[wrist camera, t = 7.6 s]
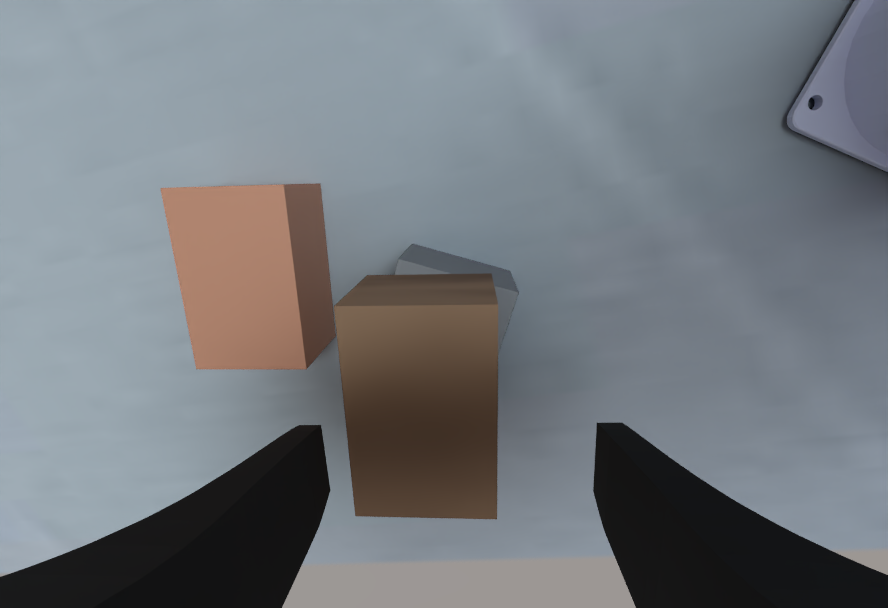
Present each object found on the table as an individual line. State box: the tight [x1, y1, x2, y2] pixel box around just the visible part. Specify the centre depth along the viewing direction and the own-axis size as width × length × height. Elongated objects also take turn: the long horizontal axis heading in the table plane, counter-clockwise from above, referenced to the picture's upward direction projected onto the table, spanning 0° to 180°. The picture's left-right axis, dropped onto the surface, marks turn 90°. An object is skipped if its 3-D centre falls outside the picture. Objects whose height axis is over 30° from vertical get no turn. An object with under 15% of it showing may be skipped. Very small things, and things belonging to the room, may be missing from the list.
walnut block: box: [334, 273, 498, 519], centre depth 15 cm, size 7×4×4 cm, turn 2°
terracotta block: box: [161, 184, 336, 369], centre depth 18 cm, size 7×4×4 cm, turn 2°
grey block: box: [395, 244, 519, 354], centre depth 19 cm, size 7×4×4 cm, turn 165°
